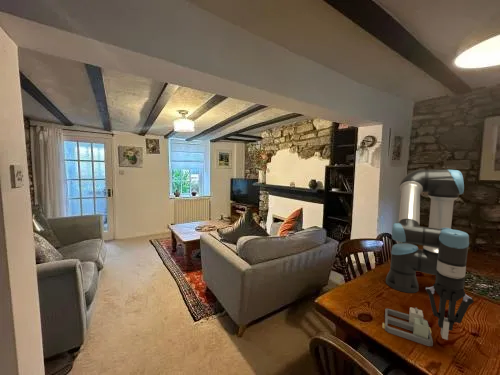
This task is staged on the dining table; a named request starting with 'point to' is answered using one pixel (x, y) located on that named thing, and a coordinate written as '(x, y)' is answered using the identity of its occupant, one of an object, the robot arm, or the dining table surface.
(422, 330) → the sage tab
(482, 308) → the dining table surface
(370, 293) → the dining table surface
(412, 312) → the ivory tab
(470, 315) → the dining table surface
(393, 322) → the switch bank
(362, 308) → the dining table surface
